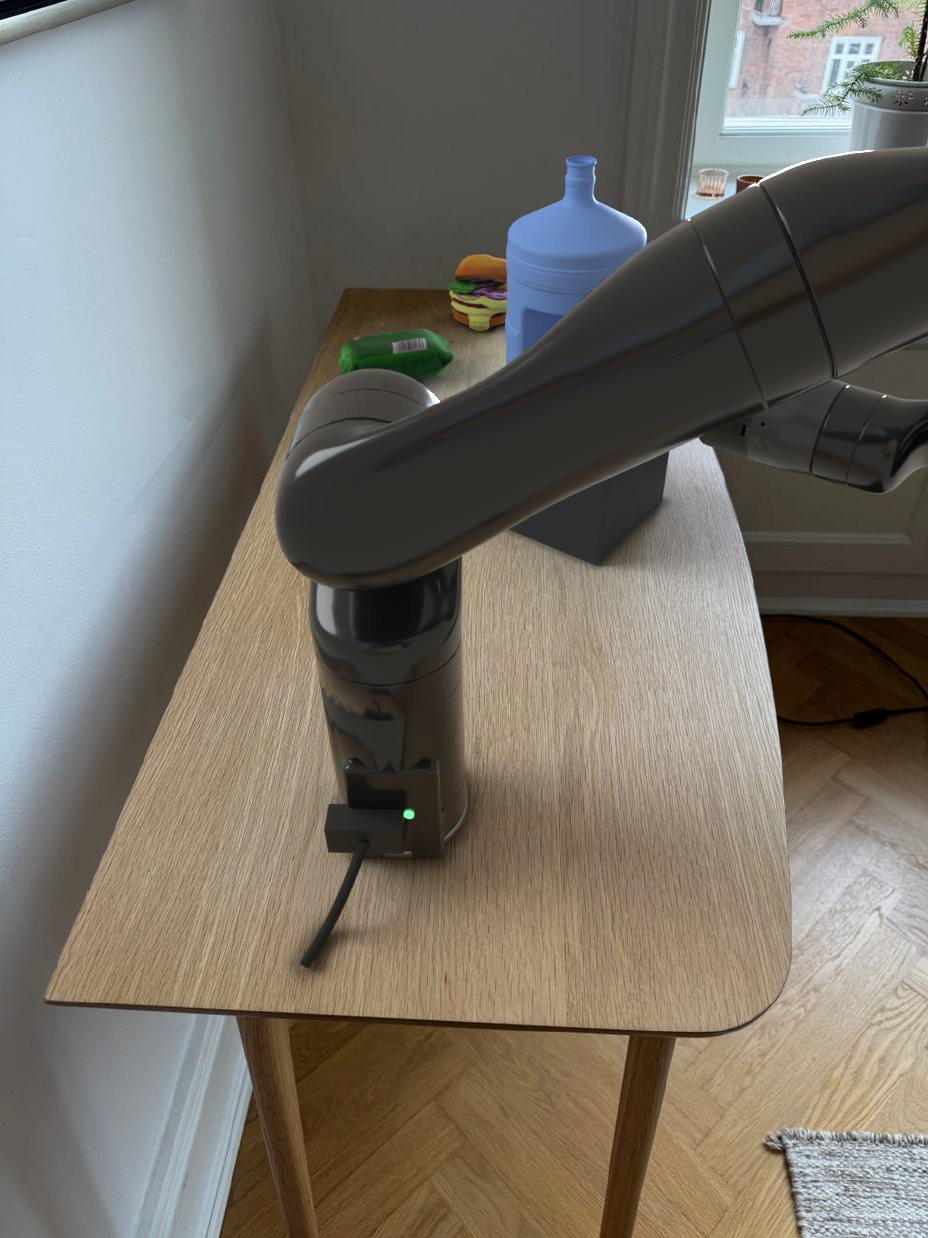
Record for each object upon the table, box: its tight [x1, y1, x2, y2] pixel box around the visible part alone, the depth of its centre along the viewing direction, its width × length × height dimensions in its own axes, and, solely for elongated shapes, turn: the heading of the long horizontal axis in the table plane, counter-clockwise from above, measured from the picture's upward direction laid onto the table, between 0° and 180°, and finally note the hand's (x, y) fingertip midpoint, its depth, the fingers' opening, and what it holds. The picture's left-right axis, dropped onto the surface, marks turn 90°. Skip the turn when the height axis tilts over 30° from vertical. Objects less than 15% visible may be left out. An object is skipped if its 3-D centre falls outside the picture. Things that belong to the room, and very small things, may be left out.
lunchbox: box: [509, 450, 671, 566], centre depth 94 cm, size 18×14×10 cm
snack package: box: [337, 328, 455, 381], centre depth 119 cm, size 7×16×5 cm, turn 105°
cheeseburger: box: [446, 254, 507, 332], centre depth 132 cm, size 10×11×10 cm
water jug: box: [504, 155, 648, 366], centre depth 106 cm, size 16×16×28 cm
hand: (584, 357), depth 78 cm, fingers closed on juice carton, 4 cm apart
